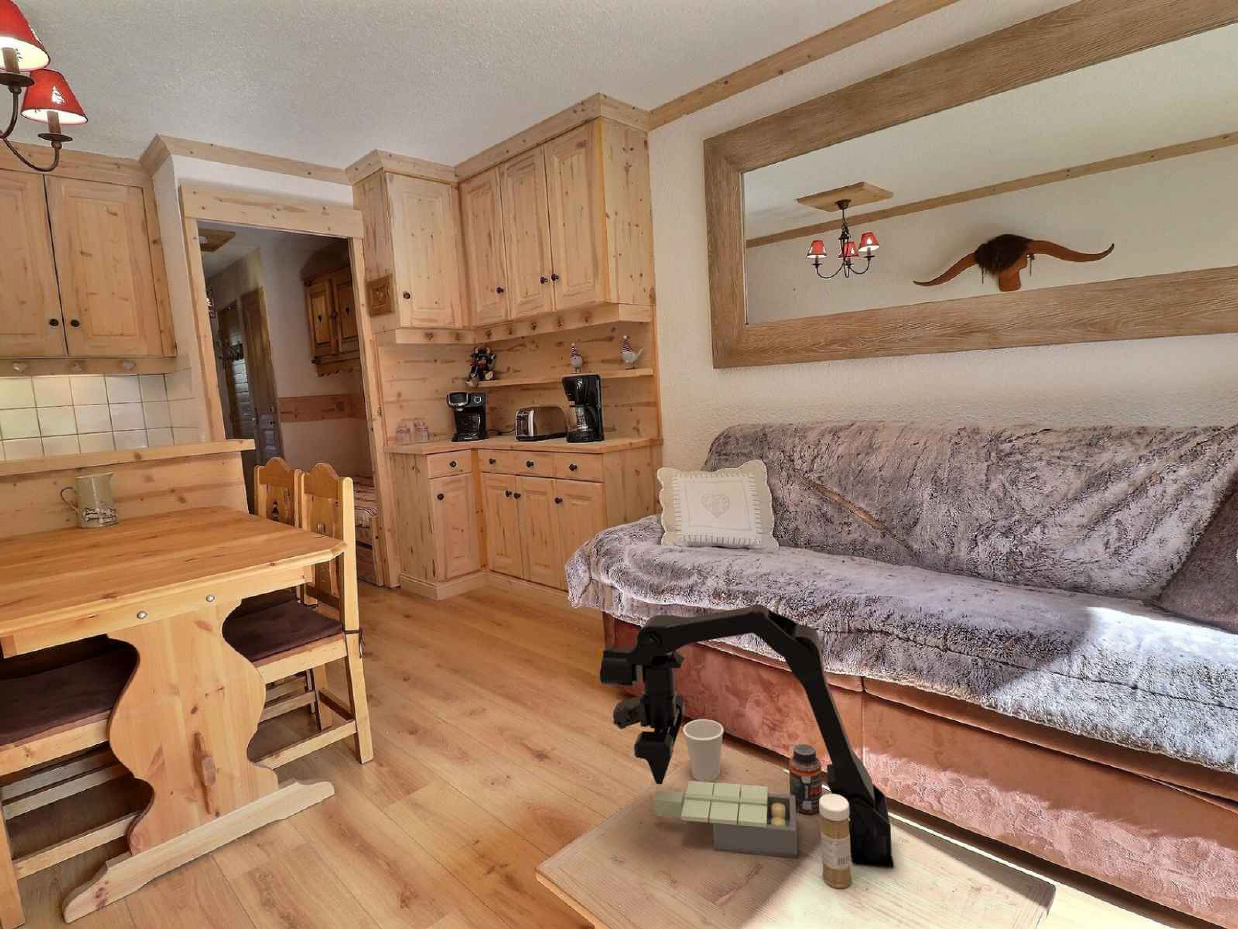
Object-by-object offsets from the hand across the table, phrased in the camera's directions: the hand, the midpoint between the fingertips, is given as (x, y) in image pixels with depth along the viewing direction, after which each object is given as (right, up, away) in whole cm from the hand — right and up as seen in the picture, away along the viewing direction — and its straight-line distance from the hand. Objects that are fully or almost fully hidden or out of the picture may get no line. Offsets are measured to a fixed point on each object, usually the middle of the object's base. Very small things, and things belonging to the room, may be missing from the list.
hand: (663, 769), depth 121 cm
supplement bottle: (+27, -9, +5) cm, 29 cm away
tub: (+16, -11, -3) cm, 20 cm away
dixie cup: (+10, -9, +17) cm, 22 cm away
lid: (+9, -8, -1) cm, 12 cm away
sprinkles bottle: (+27, -11, -15) cm, 33 cm away
